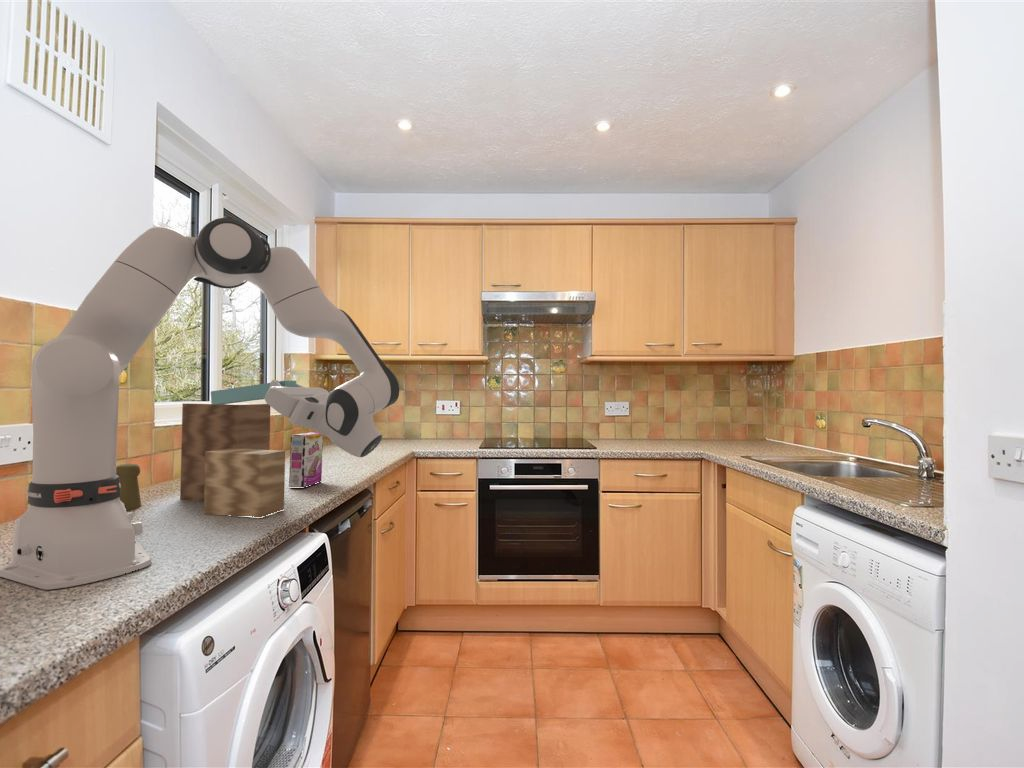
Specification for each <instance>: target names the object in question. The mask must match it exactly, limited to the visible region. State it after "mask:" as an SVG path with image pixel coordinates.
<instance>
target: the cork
mask: <svg viewBox="0 0 1024 768" xmlns="http://www.w3.org/2000/svg"><path fill="white" fill-rule="evenodd" d="M140 473H141V466H140V465H139V464H137V463H123V464H119V465H116V475H118V476H119V482H120V485H121V488H120V491H121V496H120V497H119V499H120V501H121V502H122V503H124V507H125V509H126V510H127V511H132V510H131V509H133V510H137V509H136V508H138V509H140V508H139V507H141V508H142V501H141V494H140V487H139V478H138V476H139V475H140Z"/></svg>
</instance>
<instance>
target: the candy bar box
mask: <svg viewBox="0 0 1024 768" xmlns="http://www.w3.org/2000/svg"><path fill="white" fill-rule="evenodd" d="M323 443H324V435H321V434H320V433H318V432H305V433H297V434H291V435H290V448H289V449H290V451H289V452H290V453H289V474H288V475H289V477H288V480H289V481H288V488H289V487H306V486H309V485H312V484H315V483H317V482H320V481H321V482H322V475H323V473H322V472H323V471H322V470H323V447H324V444H323Z"/></svg>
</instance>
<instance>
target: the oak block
mask: <svg viewBox="0 0 1024 768" xmlns="http://www.w3.org/2000/svg"><path fill="white" fill-rule="evenodd" d="M285 477H286V450H278V449H277V450H275V449H270V450H260V449H240V448H228V449H221V450H214V451H207V452H205V486H204V501H203V514H204V515H208V514H210V516H220V515H231V516H252V517H253V516H254V517H262V516H266V515H268V514H271V513H274V512H277V511H280V510H283V509H284V510H285V486H286V485H285V481H286V480H285V479H286V478H285ZM211 514H212V515H211ZM231 516H230V517H231Z"/></svg>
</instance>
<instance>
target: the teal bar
mask: <svg viewBox="0 0 1024 768" xmlns="http://www.w3.org/2000/svg"><path fill="white" fill-rule="evenodd" d="M278 381H279V380H278ZM279 382H281V383H282V384H281V385H282V386H284V387H297V384H298V383H297V380H280V381H279ZM270 383H271V382H265V383H258V384H253V385H252V384H251V385H245V386H240V387H233V388H232V387H231V388H224V389H219V390H211V391H210V398H211V399H210V401H211V402H210V403H212V405H218V404H230V403H246V402H251V401H259V400H265V395H266V394H267V392H268V390H269V388H270Z"/></svg>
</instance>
